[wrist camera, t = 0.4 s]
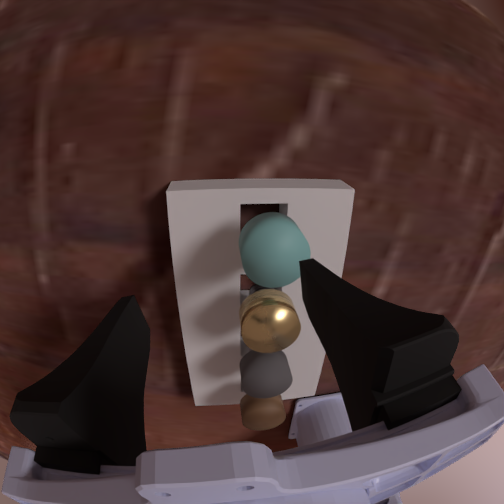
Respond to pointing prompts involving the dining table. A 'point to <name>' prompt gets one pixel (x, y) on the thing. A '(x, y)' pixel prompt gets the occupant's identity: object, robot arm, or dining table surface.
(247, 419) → the walnut key
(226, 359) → the console
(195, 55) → the dining table surface
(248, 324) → the brass dome cap
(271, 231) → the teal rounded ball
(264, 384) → the dark grey rounded knob
